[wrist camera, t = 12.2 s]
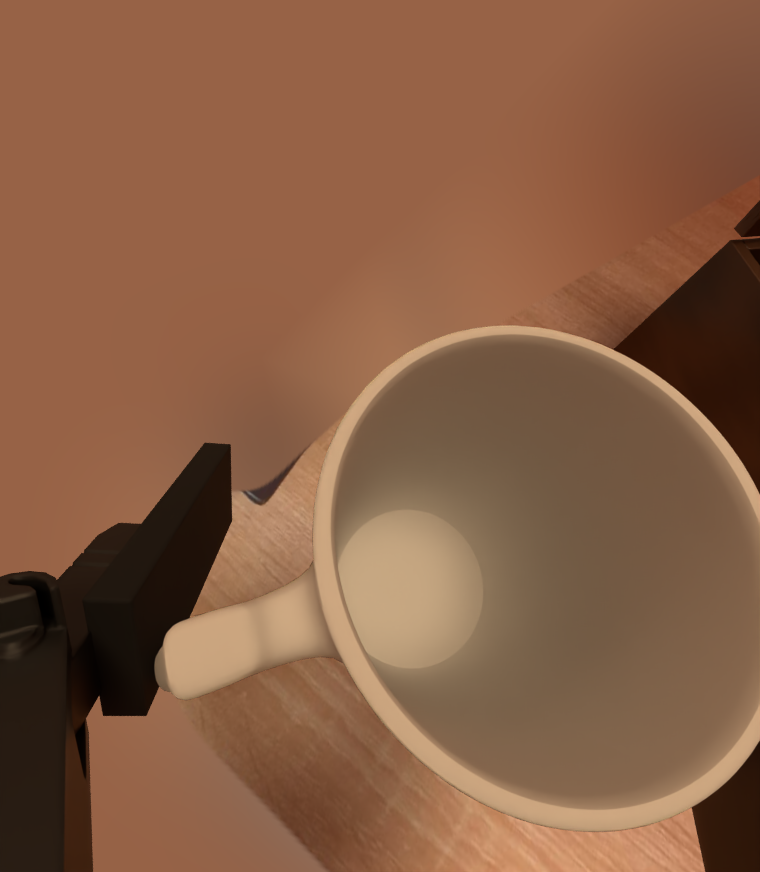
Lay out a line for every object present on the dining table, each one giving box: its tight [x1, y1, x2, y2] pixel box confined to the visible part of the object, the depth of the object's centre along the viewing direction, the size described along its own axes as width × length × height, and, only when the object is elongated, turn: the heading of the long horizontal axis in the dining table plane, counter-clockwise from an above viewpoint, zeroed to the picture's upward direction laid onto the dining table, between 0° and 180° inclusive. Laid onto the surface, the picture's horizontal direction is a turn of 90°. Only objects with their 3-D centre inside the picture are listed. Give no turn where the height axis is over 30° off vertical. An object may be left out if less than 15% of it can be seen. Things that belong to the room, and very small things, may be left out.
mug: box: [154, 326, 760, 832], centre depth 11 cm, size 10×7×12 cm, turn 109°
